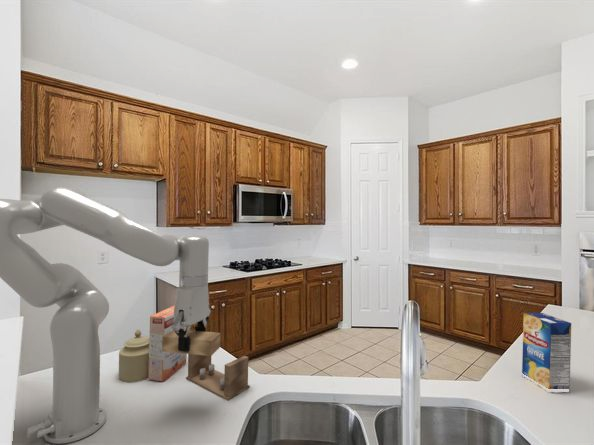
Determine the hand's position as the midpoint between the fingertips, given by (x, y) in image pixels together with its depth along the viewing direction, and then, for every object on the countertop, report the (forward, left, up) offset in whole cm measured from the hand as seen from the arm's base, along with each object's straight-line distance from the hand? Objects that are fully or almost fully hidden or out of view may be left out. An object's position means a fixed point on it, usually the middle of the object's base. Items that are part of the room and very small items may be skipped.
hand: (192, 345), depth 86 cm
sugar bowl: (+2, +32, -18) cm, 37 cm away
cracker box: (+8, +24, -18) cm, 31 cm away
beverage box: (+79, -80, -18) cm, 114 cm away
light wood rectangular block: (0, 0, -1) cm, 1 cm away
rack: (+13, +5, -17) cm, 22 cm away
